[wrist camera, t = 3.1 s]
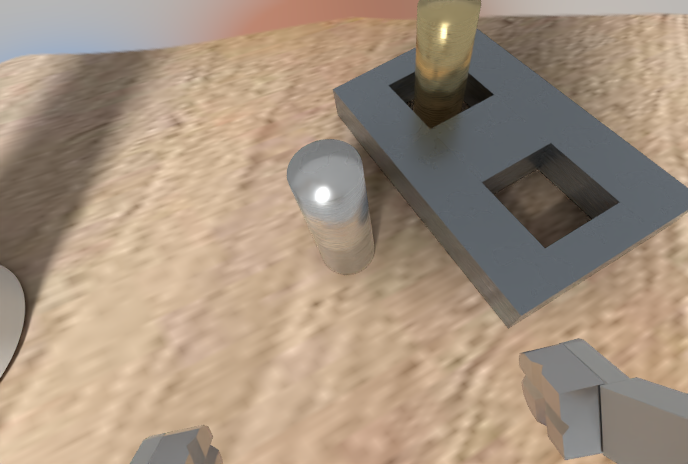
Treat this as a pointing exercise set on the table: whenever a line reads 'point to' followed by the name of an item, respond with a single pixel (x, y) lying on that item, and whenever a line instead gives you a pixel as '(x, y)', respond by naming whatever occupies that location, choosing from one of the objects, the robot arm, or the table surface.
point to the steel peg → (334, 203)
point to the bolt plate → (501, 160)
